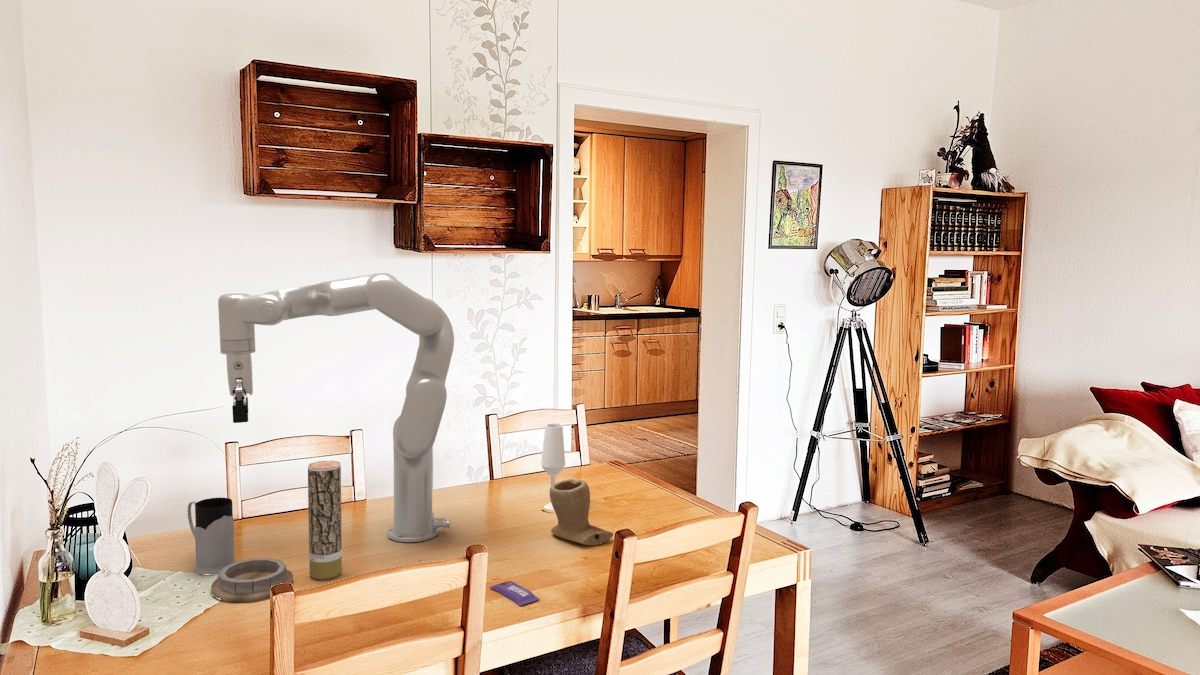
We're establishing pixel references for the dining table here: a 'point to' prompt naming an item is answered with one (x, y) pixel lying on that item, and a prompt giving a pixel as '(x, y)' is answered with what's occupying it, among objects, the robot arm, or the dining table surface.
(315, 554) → the paper tube
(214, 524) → the glass holder
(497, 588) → the snack package
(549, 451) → the champagne flute
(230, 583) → the roll stand
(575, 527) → the clay pipe bowl
